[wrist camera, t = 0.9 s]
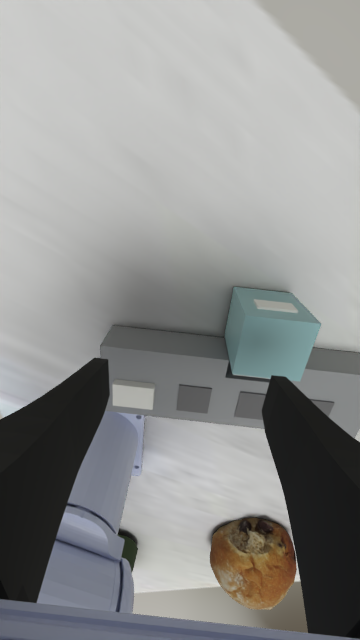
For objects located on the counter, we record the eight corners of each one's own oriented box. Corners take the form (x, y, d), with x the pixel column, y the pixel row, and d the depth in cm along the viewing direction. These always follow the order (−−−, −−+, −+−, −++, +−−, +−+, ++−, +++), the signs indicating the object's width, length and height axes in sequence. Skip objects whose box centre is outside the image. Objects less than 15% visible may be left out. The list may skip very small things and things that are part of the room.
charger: (272, 357, 22) (293, 400, 17) (221, 351, 22) (228, 392, 17) (292, 291, 19) (322, 321, 15) (234, 284, 19) (246, 312, 15)
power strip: (429, 420, 24) (468, 458, 21) (113, 384, 24) (100, 416, 21) (467, 364, 21) (518, 397, 18) (112, 325, 22) (97, 350, 18)
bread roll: (201, 507, 38) (189, 586, 32) (242, 507, 30) (234, 609, 25) (262, 529, 39) (259, 607, 34) (315, 534, 31) (322, 635, 26)
